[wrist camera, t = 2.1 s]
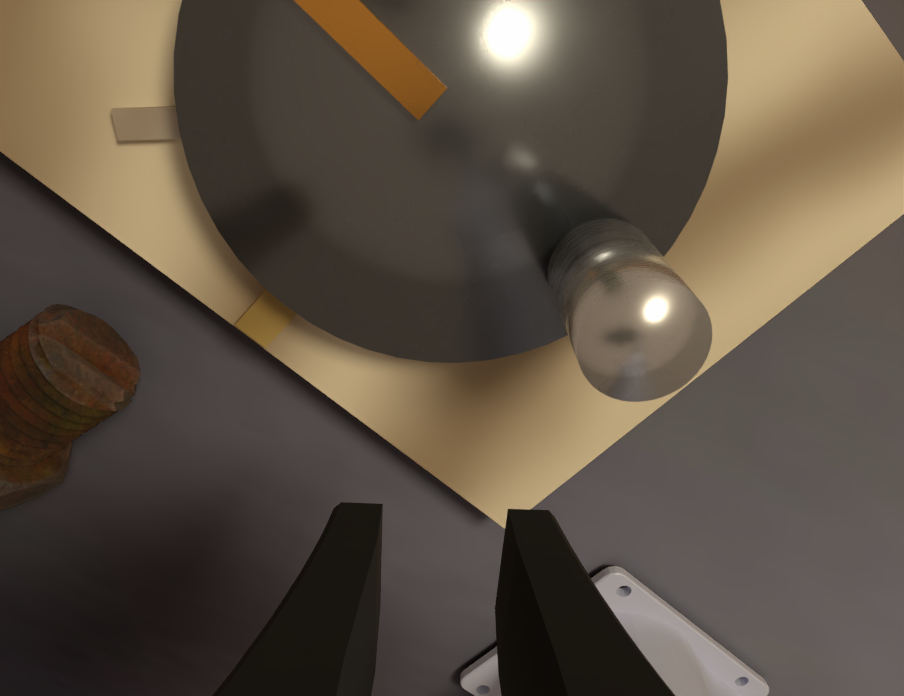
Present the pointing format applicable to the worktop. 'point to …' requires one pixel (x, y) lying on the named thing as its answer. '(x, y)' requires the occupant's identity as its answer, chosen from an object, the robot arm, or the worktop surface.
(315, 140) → the dial
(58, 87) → the board
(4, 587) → the worktop surface
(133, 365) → the bolt
